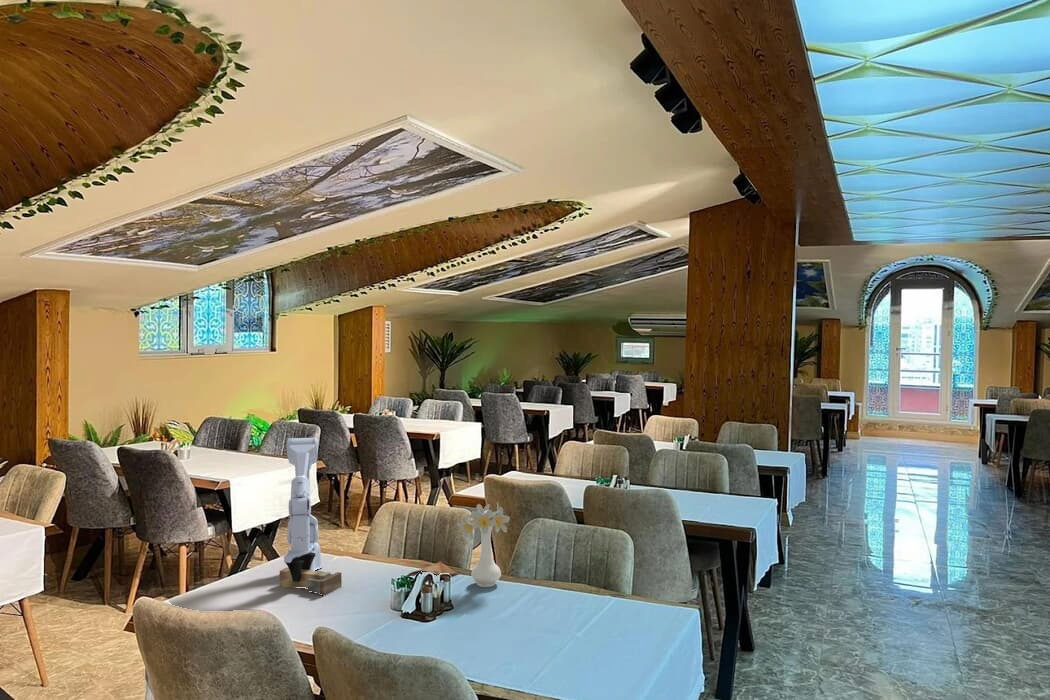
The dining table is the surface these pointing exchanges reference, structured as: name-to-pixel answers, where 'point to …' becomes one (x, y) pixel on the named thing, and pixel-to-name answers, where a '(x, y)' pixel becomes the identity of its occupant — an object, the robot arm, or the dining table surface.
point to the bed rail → (305, 575)
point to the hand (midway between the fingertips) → (300, 579)
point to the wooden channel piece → (325, 584)
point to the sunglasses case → (435, 569)
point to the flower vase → (485, 542)
